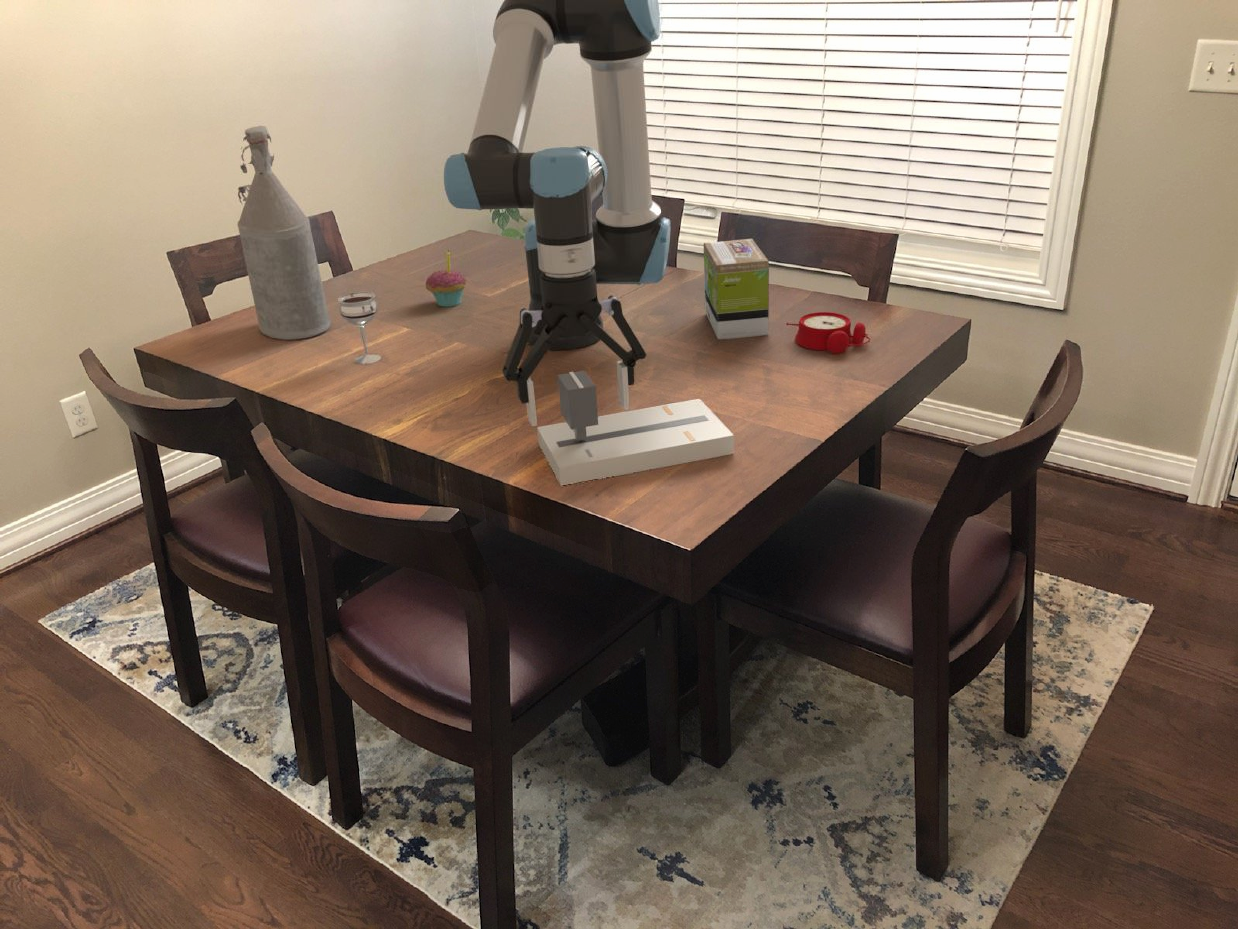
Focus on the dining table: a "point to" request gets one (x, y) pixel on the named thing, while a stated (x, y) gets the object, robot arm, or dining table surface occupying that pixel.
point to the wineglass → (360, 317)
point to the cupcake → (446, 285)
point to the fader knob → (578, 402)
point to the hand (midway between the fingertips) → (578, 414)
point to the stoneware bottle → (279, 252)
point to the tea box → (736, 288)
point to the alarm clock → (828, 332)
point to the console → (636, 442)
